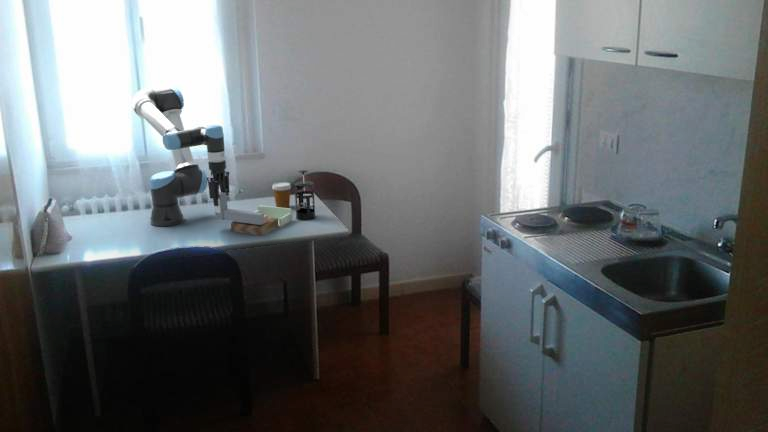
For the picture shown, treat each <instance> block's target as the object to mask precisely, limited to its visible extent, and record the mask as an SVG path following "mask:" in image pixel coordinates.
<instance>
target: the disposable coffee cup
mask: <svg viewBox="0 0 768 432" xmlns="http://www.w3.org/2000/svg"><path fill="white" fill-rule="evenodd" d="M271 188H272V190H273V191H272V192H273V196H274V200H275V207H281V208H290V201H291V188H292V185H291V183H290V182H282V181H281V182H274V183H273V184H272V187H271Z"/></svg>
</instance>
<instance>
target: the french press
mask: <svg viewBox="0 0 768 432" xmlns="http://www.w3.org/2000/svg"><path fill="white" fill-rule="evenodd" d="M298 172H299V173H300V174H301V175H302V177H303V180H302V181H297V182H295V183H294V184H293V185H294V186H295V190H297V191H296V192H295V193H294V198H295V199H294V201H295V202H294V203H295V215H296V216H295V219H296V220H297V221H302V222H304V221H311V220H314V219H316V218H317V217H316V210H315V209H316V208H315V205H316V204H315V192H314V191H311V190H306V189H305V187H309V188H312V189H313V188H314V186H313V185H314V182H313V181H309V180H308V181H307V180H305V174H306V173H308V172H309V171H308V170H306V169H304V170H302V169H301V170H298ZM311 199H312V202H311Z"/></svg>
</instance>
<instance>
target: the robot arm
mask: <svg viewBox="0 0 768 432" xmlns="http://www.w3.org/2000/svg"><path fill="white" fill-rule="evenodd" d="M184 105H185V101H184V97H183V94H182V92H181V91H180V89H179V88H177V86H172V85H171V86H168V85H167V86H166V85H164V86H159V87H147V88H143V89H141V90H139V91H138V92H136V94H135V95H134V96H133V99H132V109H133V111H134V112H135V114H136V115H137V116H138V117H139V118H141V119H145V121H146V122H147V123H148V124H149V125H150V126H151V127H152V128H153V129H155V131H156V132H157V133H158V134H159V135H160V136H161V137H162V143H163V145H164V148H165V149H167V150H168V151H171V153H172V156H173V160H174V164H175V169H174V171H173V170H167V171H160V172H158V173H155V174H153V175H152V176H151V177H150V179H149V188H150V189H149V190H150V195H151V202H152V210H151V216H150V224H151V225H153V226H156V227H170V226H175V225H178V224H179V225H180V224H181V223H183V222H184V221H185V217H184V214H183V213H182V209H181V208H180V205H179V199H180V198H185V197H189V196H196V195H199V194H202V193H204V192H205V191H206V189H207V187H208V192H209V198H210V199H213V206H214V213H215V212H216V213H221V206H220V199H219V192H226V196H228V197H229V194H230V192H231V191H230V179H229V178H230V171H226V168H227V161H226V152H225V151H226V150H225V139H224V138H225V135H224V130H223V126H222V125H218V124H210V125H206V127H204V126H196V127H195V128H193V129H186V130H185V128H184V125H183V121H182V118H181V114H182V113H183V110H182V109H183V108H184ZM203 145H204V146H206V152H207V160H208V162H207V163H208V170H209V171H210V176H209V177H207V173H206V171H205V169H203V168H200V167H199V164H198V163H196V162H195V160H194V158H193V154H192V152H191V148H190V147H198V146H203Z"/></svg>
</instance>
